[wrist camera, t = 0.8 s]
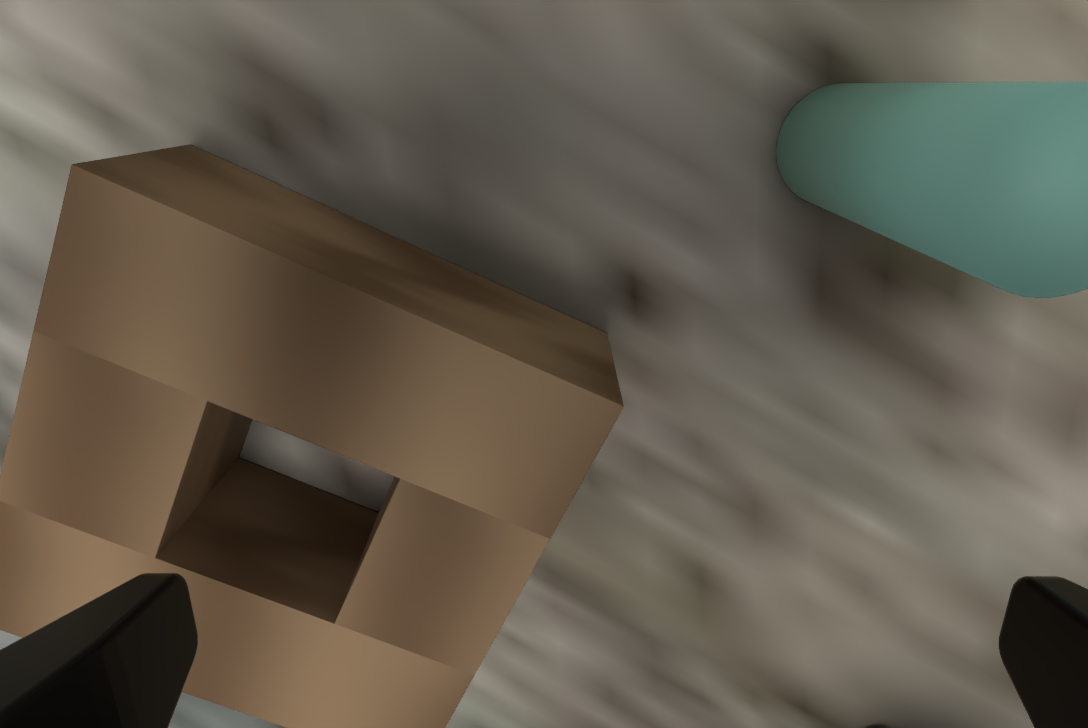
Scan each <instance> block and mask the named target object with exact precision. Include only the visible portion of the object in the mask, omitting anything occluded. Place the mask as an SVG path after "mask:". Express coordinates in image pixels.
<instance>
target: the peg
mask: <svg viewBox="0 0 1088 728" xmlns="http://www.w3.org/2000/svg"><path fill="white" fill-rule="evenodd" d="M776 159H777V165H778V169H779V172H780V175H781V177H782V179H783V181H784V182H785V184H786V185H787V186H788V188H789V189H790V190H791V191H792V192H793V193H795V194H796V195H797V196H798V197H800V198H802V199H803V200H806V201H808V202H810V203H812V204H814V205H817V206H819V207H821V208H823V209H825V210H828V211H830V212H832V213H834V214H837V215H839V216H841V217H843V218H845V219H848V220H850V221H852V222H854V223H856V224H859V225H861V226H863V227H865V228H867V229H870V230H872V231H874V232H876V233H879V234H881V235H883V236H885V237H887V238H890V239H892V240H894V241H896V242H898V243H901V244H903V245H905V246H907V247H910V248H912V249H914V250H916V251H918V252H921V253H923V254H925V255H927V256H929V257H932V258H934V259H936V260H938V261H940V262H943V263H945V264H947V265H949V266H952V267H954V268H956V269H958V270H960V271H963V272H965V273H967V274H969V275H971V276H974V277H976V278H978V279H980V280H982V281H985V282H987V283H989V284H991V285H994V286H996V287H998V288H1000V289H1003V290H1005V291H1007V292H1010V293H1012V294H1016V295H1020V296H1025V297H1034V298H1051V297H1058V296H1065V295H1068V294H1072V293H1076V292H1079V291H1082V290H1084V289H1087V288H1088V82H973V83H837V84H831V85H827V86H824V87H821V88H819V89H817V90H815V91H813V92H811V93H810V94H808V95H807V96H805V97H804V98H803V99H801V100H800V101H799V102H798V103H797V104H796V105H795V106H794V107H793V109H792V110H791V111H790V112H789V114H788V116H787V117H786V119H785V120H784V123H783V125H782V127H781V129H780V132H779V135H778V140H777V147H776Z"/></svg>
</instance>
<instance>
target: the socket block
mask: <svg viewBox="0 0 1088 728" xmlns="http://www.w3.org/2000/svg"><path fill="white" fill-rule="evenodd" d="M623 407H624V405H623V401H622V396H621V392H620V388H619V383H618V379H617V375H616V370H615V366H614V362H613V357H612V353H611V349H610V344H609V340H608V336H607V333H605V332H603V331H601V330H598V329H596V328H594V327H592V326H589V325H587V324H585V323H583V322H581V321H578V320H576V319H574V318H572V317H570V316H567V315H565V314H563V313H561V312H559V311H556V310H554V309H552V308H550V307H548V306H545V305H543V304H541V303H539V302H537V301H534V300H532V299H530V298H528V297H525V296H523V295H521V294H519V293H517V292H514V291H512V290H510V289H508V288H506V287H503V286H501V285H499V284H497V283H495V282H492V281H490V280H488V279H486V278H484V277H481V276H479V275H477V274H475V273H473V272H470V271H468V270H466V269H464V268H461V267H459V266H457V265H455V264H453V263H450V262H448V261H446V260H444V259H442V258H439V257H437V256H435V255H433V254H431V253H428V252H426V251H424V250H422V249H420V248H417V247H415V246H413V245H411V244H409V243H406V242H404V241H402V240H400V239H397V238H395V237H393V236H391V235H389V234H386V233H384V232H382V231H380V230H378V229H375V228H373V227H371V226H369V225H367V224H364V223H362V222H360V221H358V220H356V219H353V218H351V217H349V216H347V215H345V214H342V213H340V212H338V211H336V210H333V209H331V208H329V207H327V206H325V205H322V204H320V203H318V202H316V201H314V200H311V199H309V198H307V197H305V196H303V195H300V194H298V193H296V192H294V191H292V190H289V189H287V188H285V187H283V186H280V185H278V184H276V183H274V182H272V181H269V180H267V179H265V178H263V177H261V176H258V175H256V174H254V173H252V172H250V171H247V170H245V169H243V168H241V167H239V166H236V165H234V164H232V163H230V162H228V161H225V160H223V159H221V158H219V157H216V156H214V155H212V154H210V153H208V152H205V151H203V150H201V149H199V148H197V147H194V146H192V145H185V146H179V147H173V148H167V149H161V150H155V151H149V152H143V153H137V154H131V155H125V156H119V157H113V158H107V159H101V160H95V161H89V162H83V163H77V164H72V166H71V170H70V175H69V179H68V183H67V188H66V192H65V196H64V201H63V205H62V209H61V214H60V218H59V223H58V227H57V231H56V236H55V240H54V244H53V249H52V253H51V257H50V262H49V266H48V270H47V275H46V279H45V283H44V288H43V292H42V296H41V301H40V305H39V309H38V314H37V318H36V322H35V327H34V331H33V335H32V340H31V344H30V349H29V353H28V357H27V362H26V366H25V370H24V375H23V379H22V383H21V388H20V392H19V396H18V401H17V405H16V409H15V414H14V418H13V422H12V427H11V431H10V435H9V440H8V444H7V448H6V453H5V457H4V461H3V466H2V470H1V475H0V630H2V631H5V632H8V633H11V634H14V635H17V636H20V637H25V636H27V635H29V634H31V633H33V632H35V631H36V630H38V629H40V628H42V627H44V626H46V625H47V624H49V623H51V622H53V621H55V620H57V619H59V618H60V617H62V616H64V615H66V614H68V613H70V612H71V611H73V610H75V609H77V608H79V607H81V606H83V605H84V604H86V603H88V602H90V601H92V600H94V599H96V598H97V597H99V596H101V595H103V594H105V593H107V592H108V591H110V590H112V589H114V588H116V587H118V586H120V585H121V584H123V583H125V582H127V581H129V580H131V579H132V578H134V577H136V576H138V575H140V574H144V573H177V574H179V575H181V576H183V577H184V579H185V580H186V582H187V585H188V589H189V594H190V599H191V604H192V608H193V613H194V618H195V623H196V628H197V633H198V645H197V651H196V655H195V658H194V661H193V664H192V666H191V669H190V672H189V674H188V677H187V679H186V682H185V684H184V687H183V690H182V692H184V693H187V694H189V695H192V696H195V697H198V698H201V699H204V700H207V701H210V702H213V703H216V704H219V705H222V706H225V707H228V708H230V709H233V710H236V711H239V712H242V713H245V714H248V715H251V716H254V717H257V718H260V719H263V720H266V721H269V722H271V723H274V724H277V725H280V726H283V727H286V728H445V727H446V725H447V723H448V722H449V720H450V718H451V716H452V715H453V713H454V711H455V709H456V707H457V706H458V704H459V702H460V700H461V698H462V697H463V695H464V693H465V691H466V689H467V688H468V686H469V684H470V682H471V680H472V679H473V677H474V675H475V673H476V671H477V670H478V668H479V666H480V664H481V662H482V661H483V659H484V657H485V655H486V653H487V652H488V650H489V648H490V646H491V644H492V643H493V641H494V639H495V637H496V635H497V634H498V632H499V630H500V628H501V626H502V625H503V623H504V621H505V619H506V617H507V616H508V614H509V612H510V610H511V608H512V607H513V605H514V603H515V601H516V599H517V598H518V596H519V594H520V592H521V590H522V589H523V587H524V585H525V583H526V581H527V580H528V578H529V576H530V574H531V572H532V571H533V569H534V567H535V565H536V563H537V562H538V560H539V558H540V556H541V554H542V553H543V551H544V549H545V547H546V545H547V544H548V542H549V540H550V538H551V536H552V535H553V533H554V531H555V529H556V527H557V526H558V524H559V522H560V520H561V519H562V517H563V515H564V513H565V511H566V510H567V508H568V506H569V504H570V502H571V501H572V499H573V497H574V495H575V493H576V492H577V490H578V488H579V486H580V484H581V483H582V481H583V479H584V477H585V475H586V474H587V472H588V470H589V468H590V466H591V465H592V463H593V461H594V459H595V457H596V456H597V454H598V452H599V450H600V448H601V447H602V445H603V443H604V441H605V439H606V438H607V436H608V434H609V432H610V430H611V429H612V427H613V425H614V423H615V421H616V420H617V418H618V416H619V414H620V412H621V411H622V409H623ZM252 419H253V420H256V421H258V422H261V423H263V424H266V425H268V426H271V427H273V428H276V429H278V430H281V431H283V432H286V433H288V434H291V435H293V436H296V437H298V438H300V439H303V440H305V441H308V442H310V443H313V444H315V445H318V446H320V447H323V448H325V449H328V450H330V451H333V452H335V453H338V454H340V455H343V456H345V457H348V458H350V459H353V460H355V461H358V462H360V463H363V464H365V465H368V466H370V467H373V468H375V469H377V470H380V471H382V472H385V473H387V474H390V475H392V476H395V478H394V480H393V482H392V484H391V487H390V489H389V491H388V493H387V495H386V498H385V500H384V502H383V504H382V507H381V509H380V511H379V513H377V512H375V511H372V510H370V509H367V508H365V507H362V506H360V505H357V504H355V503H352V502H349V501H347V500H344V499H342V498H339V497H337V496H334V495H332V494H329V493H327V492H324V491H321V490H319V489H316V488H314V487H311V486H309V485H306V484H304V483H301V482H299V481H296V480H293V479H291V478H288V477H286V476H283V475H281V474H278V473H276V472H273V471H271V470H268V469H266V468H263V467H260V466H258V465H255V464H253V463H250V462H248V461H245V460H243V459H240V458H239V455H240V452H241V449H242V446H243V444H244V441H245V438H246V435H247V432H248V430H249V427H250V424H251V421H252Z"/></svg>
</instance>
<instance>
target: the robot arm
mask: <svg viewBox="0 0 1088 728" xmlns="http://www.w3.org/2000/svg"><path fill="white" fill-rule="evenodd" d="M197 645H198V633H197V628H196V623H195V618H194V613H193V608H192V604H191V599H190V594H189V589H188V585H187V582H186V580H185V579H184V577H183V576H181V575H179V574H177V573H144V574H140V575H138V576H136V577H134V578H132V579H131V580H129V581H127V582H125V583H123V584H121V585H120V586H118V587H116V588H114V589H112V590H110V591H108V592H107V593H105V594H103V595H101V596H99V597H97V598H96V599H94V600H92V601H90V602H88V603H86V604H84V605H83V606H81V607H79V608H77V609H75V610H73V611H71V612H70V613H68V614H66V615H64V616H62V617H60V618H59V619H57V620H55V621H53V622H51V623H49V624H47V625H46V626H44V627H42V628H40V629H38V630H36V631H35V632H33V633H31V634H29V635H27V636H25V637H23V638H22V639H20V640H18V641H16V642H14V643H12V644H10V645H9V646H7V647H5V648H3V649H1V650H0V728H168V726H169V723H170V720H171V718H172V715H173V713H174V710H175V708H176V705H177V702H178V700H179V697H180V695H181V692H182V690H183V687H184V684H185V682H186V679H187V677H188V674H189V672H190V669H191V666H192V664H193V661H194V658H195V655H196V651H197ZM999 650H1000V655H1001V658H1002V661H1003V664H1004V666H1005V668H1006V670H1007V672H1008V674H1009V676H1010V678H1011V680H1012V682H1013V684H1014V686H1015V688H1016V690H1017V693H1018V695H1019V697H1020V699H1021V701H1022V703H1023V705H1024V707H1025V709H1026V711H1027V713H1028V715H1029V717H1030V719H1031V721H1032V723H1033V725H1034V727H1035V728H1088V589H1086V588H1084V587H1082V586H1080V585H1078V584H1075V583H1073V582H1071V581H1069V580H1067V579H1064V578H1061V577H1053V576H1026V577H1022V578H1020V579H1018V580H1017V581H1016V582H1015V584H1014V585H1013V587H1012V590H1011V594H1010V598H1009V602H1008V605H1007V609H1006V613H1005V617H1004V620H1003V624H1002V628H1001V632H1000V636H999Z"/></svg>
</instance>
